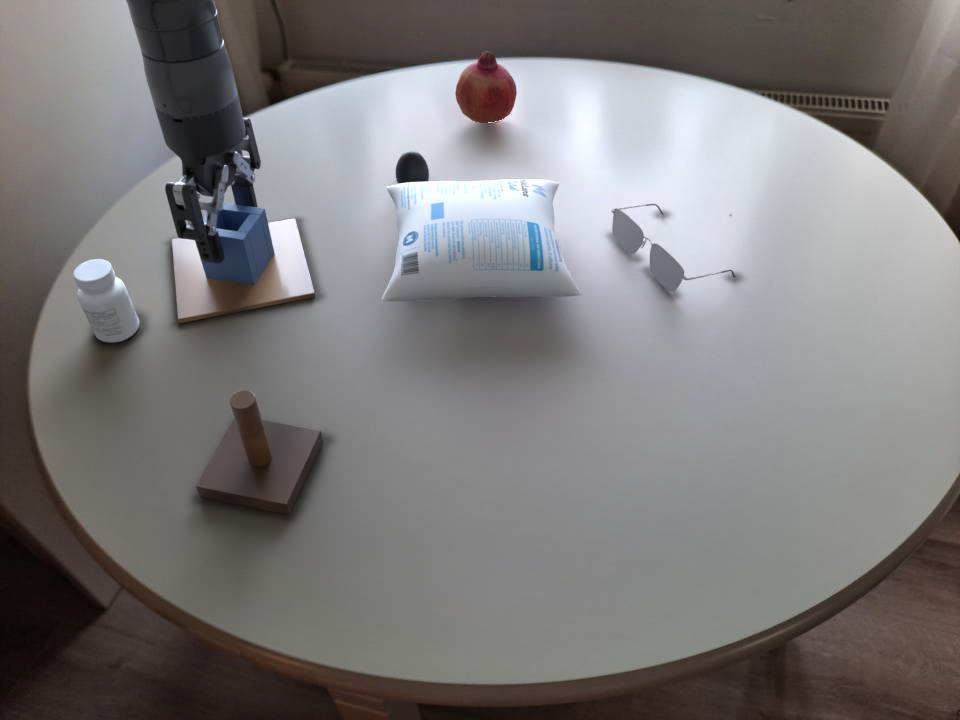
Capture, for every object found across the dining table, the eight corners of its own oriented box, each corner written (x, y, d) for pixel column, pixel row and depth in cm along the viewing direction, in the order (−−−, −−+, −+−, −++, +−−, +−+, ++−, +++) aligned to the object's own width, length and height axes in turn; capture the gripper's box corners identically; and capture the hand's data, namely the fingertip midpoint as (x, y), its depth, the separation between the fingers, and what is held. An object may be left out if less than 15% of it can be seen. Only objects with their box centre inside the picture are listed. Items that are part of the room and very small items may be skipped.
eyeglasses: (605, 231, 94) (611, 201, 91) (660, 217, 97) (668, 188, 94) (678, 301, 85) (688, 271, 83) (736, 284, 88) (747, 254, 86)
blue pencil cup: (205, 277, 87) (192, 232, 82) (228, 246, 91) (216, 201, 86) (254, 284, 86) (243, 239, 82) (274, 253, 90) (265, 208, 85)
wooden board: (179, 323, 83) (177, 319, 82) (172, 243, 92) (171, 239, 91) (315, 297, 86) (314, 292, 85) (295, 221, 95) (295, 217, 94)
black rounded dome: (391, 182, 101) (388, 147, 97) (421, 174, 102) (419, 139, 98) (404, 199, 98) (401, 164, 95) (434, 191, 99) (433, 155, 96)
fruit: (499, 102, 115) (500, 33, 108) (525, 129, 110) (528, 58, 103) (447, 114, 113) (445, 44, 105) (471, 142, 108) (471, 71, 100)
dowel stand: (200, 497, 68) (171, 429, 61) (239, 425, 73) (217, 356, 67) (289, 514, 67) (270, 447, 60) (323, 440, 72) (308, 371, 66)
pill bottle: (116, 309, 84) (91, 250, 78) (149, 322, 83) (126, 263, 77) (85, 335, 81) (57, 276, 76) (118, 349, 80) (92, 290, 74)
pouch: (376, 267, 77) (584, 255, 77) (382, 163, 91) (559, 153, 91) (385, 329, 82) (580, 317, 83) (390, 222, 96) (557, 213, 96)
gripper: (192, 55, 79) (227, 194, 91) (116, 126, 69) (166, 273, 81) (264, 63, 78) (290, 203, 90) (197, 137, 68) (236, 284, 80)
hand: (231, 236), depth 85 cm, fingers open, 8 cm apart
